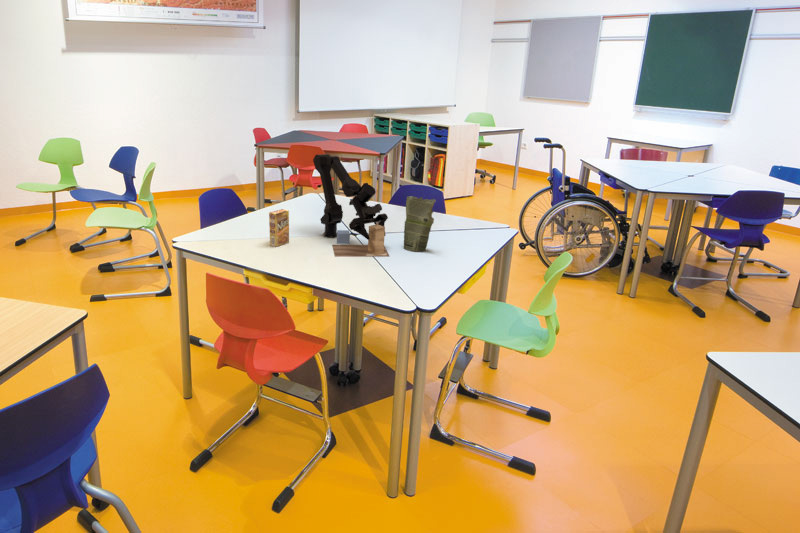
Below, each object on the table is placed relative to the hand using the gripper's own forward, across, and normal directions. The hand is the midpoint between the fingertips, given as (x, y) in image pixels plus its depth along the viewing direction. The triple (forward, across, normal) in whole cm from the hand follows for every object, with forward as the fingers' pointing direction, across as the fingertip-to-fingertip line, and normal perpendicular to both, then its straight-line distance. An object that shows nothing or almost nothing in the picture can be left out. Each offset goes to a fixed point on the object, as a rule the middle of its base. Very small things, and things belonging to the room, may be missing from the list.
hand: (376, 237), depth 247 cm
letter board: (+1, -4, +10) cm, 11 cm away
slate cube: (-9, -2, +20) cm, 22 cm away
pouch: (+9, +20, +2) cm, 22 cm away
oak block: (+5, 0, +5) cm, 7 cm away
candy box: (-19, -28, +30) cm, 45 cm away
